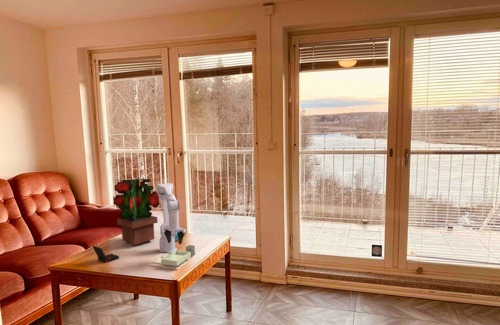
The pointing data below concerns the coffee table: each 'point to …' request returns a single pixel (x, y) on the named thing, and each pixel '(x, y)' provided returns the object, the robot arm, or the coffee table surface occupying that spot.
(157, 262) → the rail board
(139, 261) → the coffee table surface
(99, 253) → the handheld gaming console
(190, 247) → the part block
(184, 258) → the mint green storage bin
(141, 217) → the potted plant
